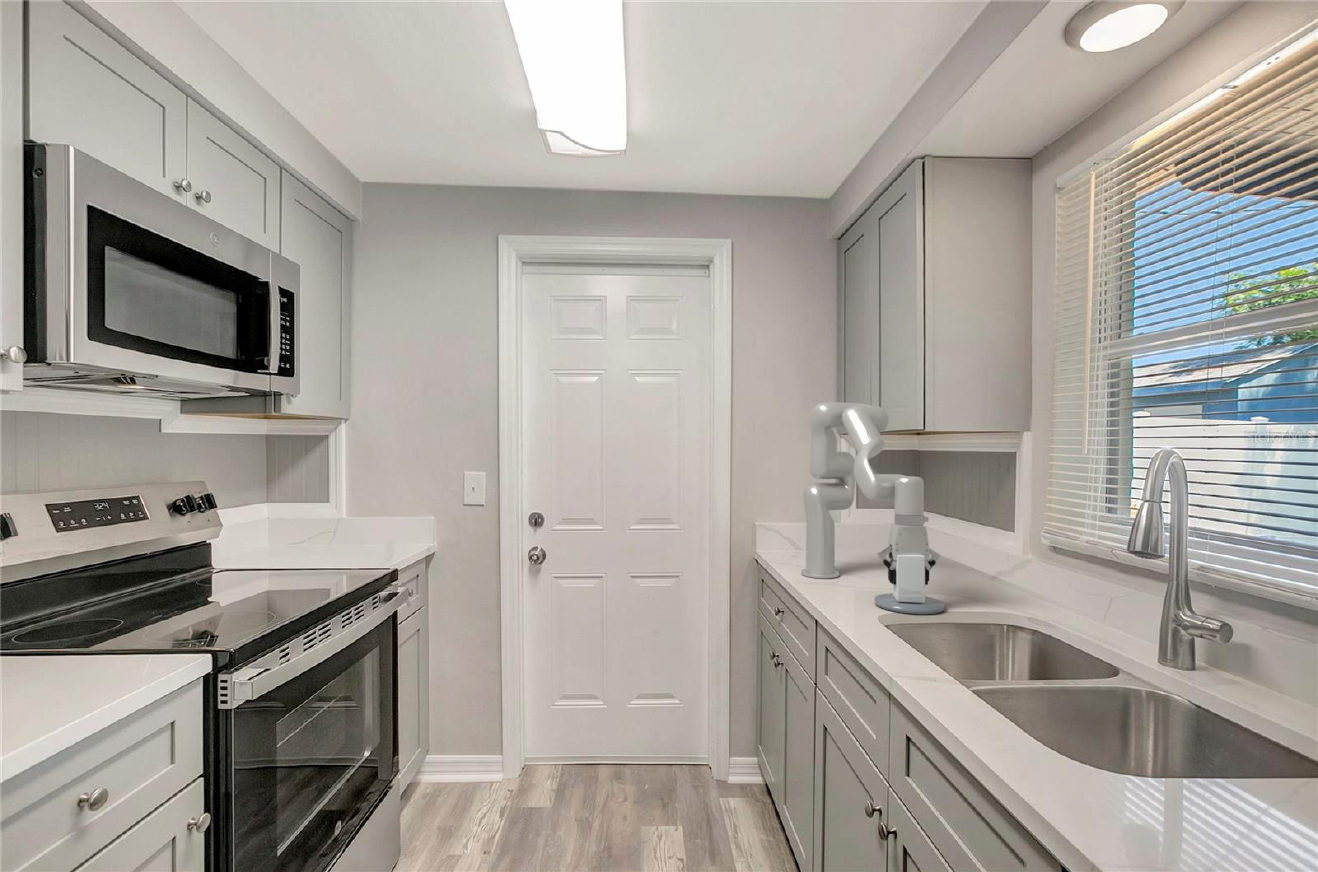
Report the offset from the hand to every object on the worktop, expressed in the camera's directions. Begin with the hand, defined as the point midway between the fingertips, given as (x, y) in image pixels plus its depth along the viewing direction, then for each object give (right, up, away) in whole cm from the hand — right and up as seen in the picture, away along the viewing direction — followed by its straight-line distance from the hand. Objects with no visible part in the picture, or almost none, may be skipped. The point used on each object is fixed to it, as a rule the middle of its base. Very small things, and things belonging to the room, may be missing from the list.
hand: (908, 583), depth 174 cm
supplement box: (0, -5, 0) cm, 5 cm away
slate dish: (0, -6, 0) cm, 6 cm away
